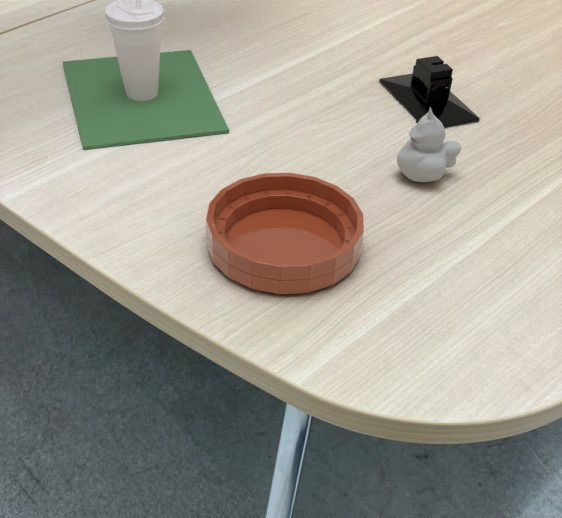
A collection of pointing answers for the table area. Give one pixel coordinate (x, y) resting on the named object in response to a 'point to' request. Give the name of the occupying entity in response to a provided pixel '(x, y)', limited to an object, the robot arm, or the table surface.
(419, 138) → the rubber duck
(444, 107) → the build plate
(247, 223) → the bowl
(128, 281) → the table surface
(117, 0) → the smoothie
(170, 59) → the cloth
